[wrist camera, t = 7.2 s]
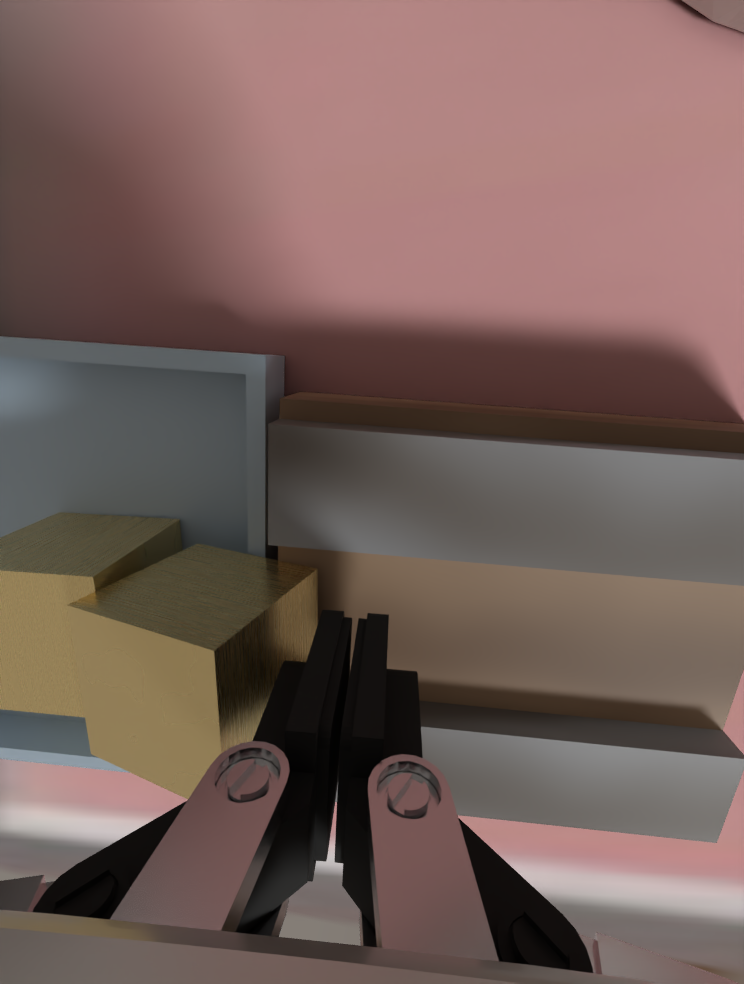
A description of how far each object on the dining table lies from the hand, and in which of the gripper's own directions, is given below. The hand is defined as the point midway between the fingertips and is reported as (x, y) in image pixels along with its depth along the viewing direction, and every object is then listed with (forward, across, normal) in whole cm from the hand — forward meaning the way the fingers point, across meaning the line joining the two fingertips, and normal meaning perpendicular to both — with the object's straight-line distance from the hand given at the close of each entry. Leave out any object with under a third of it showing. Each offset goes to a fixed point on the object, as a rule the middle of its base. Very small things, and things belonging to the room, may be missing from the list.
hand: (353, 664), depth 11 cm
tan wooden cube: (+1, +6, 0) cm, 6 cm away
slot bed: (+4, -4, 0) cm, 6 cm away
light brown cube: (+2, +3, 0) cm, 4 cm away
